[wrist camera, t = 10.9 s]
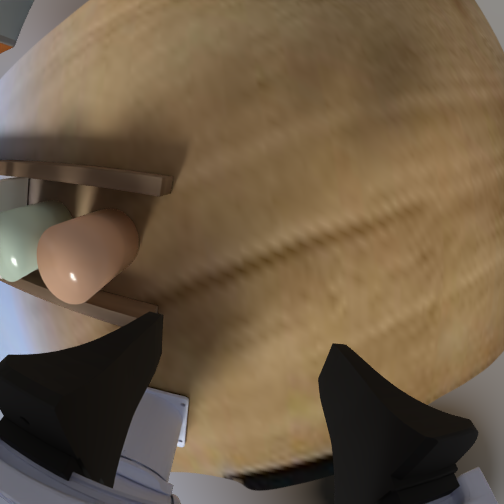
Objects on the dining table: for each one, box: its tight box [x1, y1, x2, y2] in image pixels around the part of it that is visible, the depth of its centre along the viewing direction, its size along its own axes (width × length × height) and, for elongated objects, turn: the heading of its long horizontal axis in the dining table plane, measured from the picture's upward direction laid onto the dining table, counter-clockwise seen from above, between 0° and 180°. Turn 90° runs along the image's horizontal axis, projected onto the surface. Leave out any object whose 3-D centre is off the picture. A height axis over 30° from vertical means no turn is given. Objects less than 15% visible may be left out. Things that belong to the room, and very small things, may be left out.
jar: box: [37, 208, 139, 304], centre depth 17 cm, size 5×5×6 cm
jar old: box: [0, 200, 72, 282], centre depth 17 cm, size 5×5×6 cm
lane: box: [0, 160, 173, 327], centre depth 18 cm, size 11×22×4 cm, turn 78°
